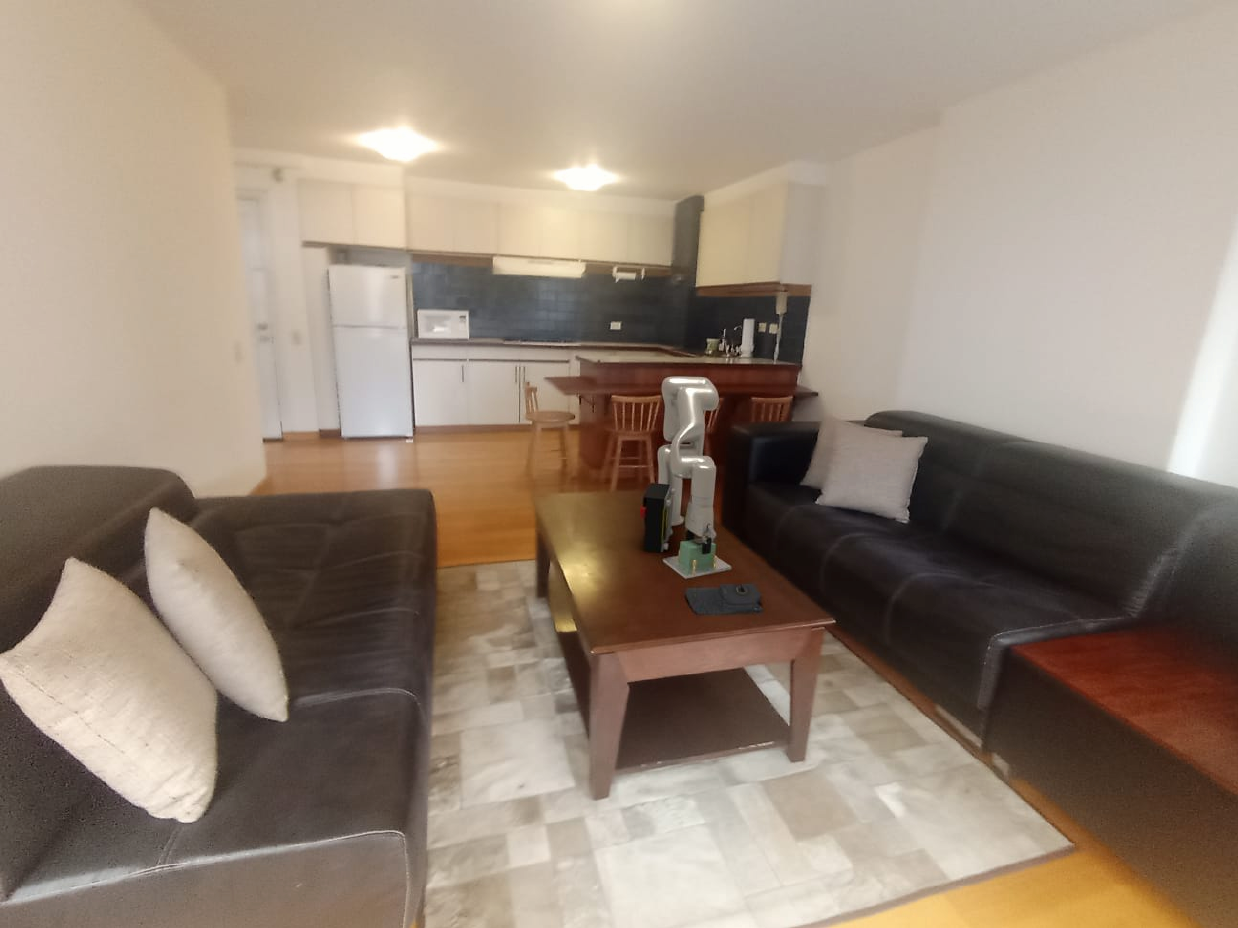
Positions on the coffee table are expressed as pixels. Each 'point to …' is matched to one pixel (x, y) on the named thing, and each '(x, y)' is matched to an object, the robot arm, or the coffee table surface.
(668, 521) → the electrical component
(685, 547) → the green block
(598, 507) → the coffee table surface
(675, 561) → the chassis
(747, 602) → the dark slate chunk
